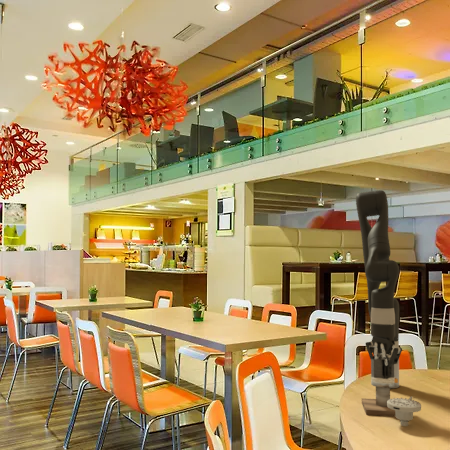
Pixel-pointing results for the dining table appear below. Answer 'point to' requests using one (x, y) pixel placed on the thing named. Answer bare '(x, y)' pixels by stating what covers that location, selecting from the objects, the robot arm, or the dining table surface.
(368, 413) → the post base
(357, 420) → the dining table surface
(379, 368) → the knob
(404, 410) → the showerhead
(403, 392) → the dining table surface
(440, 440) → the dining table surface
